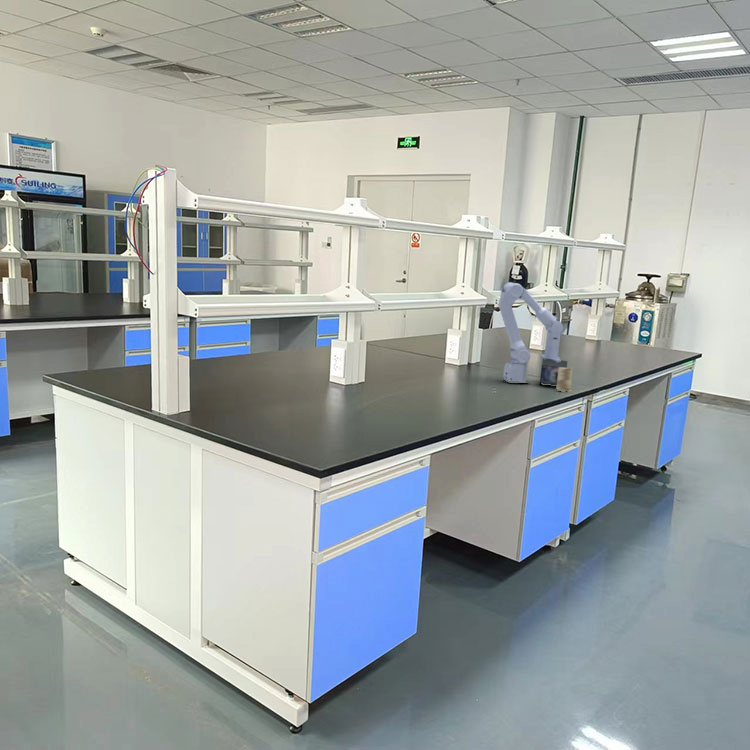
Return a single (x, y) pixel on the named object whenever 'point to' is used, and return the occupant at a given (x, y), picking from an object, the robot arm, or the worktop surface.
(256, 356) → the worktop surface
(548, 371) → the small box
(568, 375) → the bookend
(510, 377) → the robot arm
